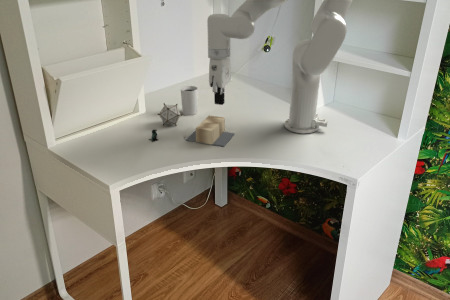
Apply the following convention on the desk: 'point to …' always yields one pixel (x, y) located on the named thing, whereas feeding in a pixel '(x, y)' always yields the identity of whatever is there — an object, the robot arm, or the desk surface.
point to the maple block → (210, 129)
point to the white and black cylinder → (189, 100)
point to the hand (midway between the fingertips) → (219, 103)
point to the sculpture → (153, 136)
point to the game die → (170, 114)
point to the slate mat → (220, 141)
